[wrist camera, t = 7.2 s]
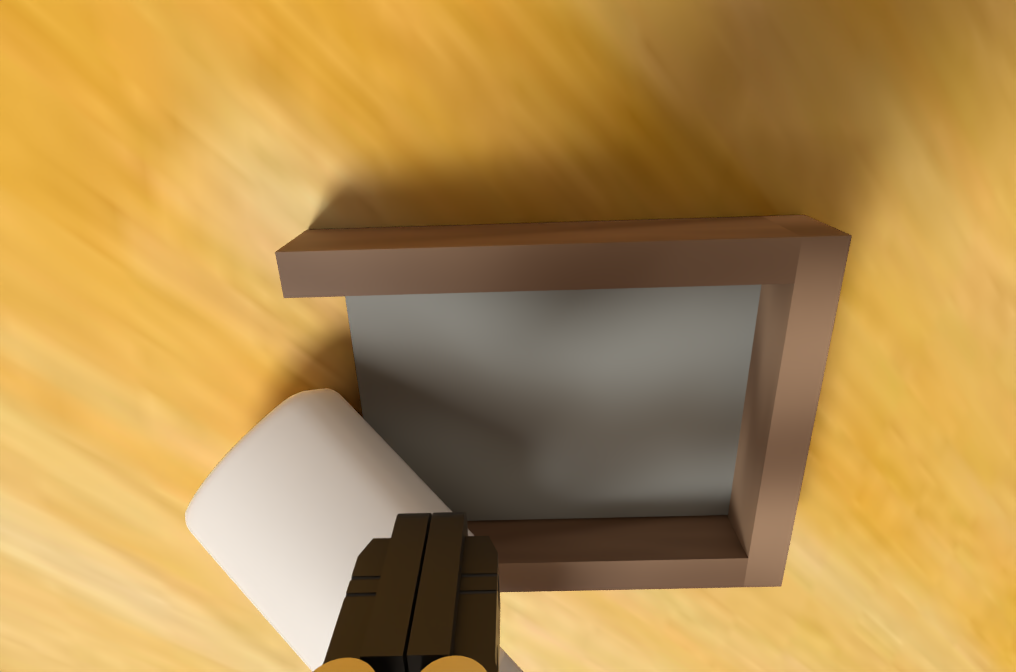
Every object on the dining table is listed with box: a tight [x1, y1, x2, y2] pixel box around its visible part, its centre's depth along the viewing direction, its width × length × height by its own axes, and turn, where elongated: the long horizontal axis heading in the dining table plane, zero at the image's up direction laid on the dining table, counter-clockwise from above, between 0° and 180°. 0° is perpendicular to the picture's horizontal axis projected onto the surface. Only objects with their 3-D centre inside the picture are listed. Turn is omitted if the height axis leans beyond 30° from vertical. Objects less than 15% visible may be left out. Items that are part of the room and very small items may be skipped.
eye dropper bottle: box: [185, 388, 523, 672], centre depth 17 cm, size 4×6×12 cm
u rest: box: [275, 215, 852, 592], centre depth 18 cm, size 11×14×2 cm
